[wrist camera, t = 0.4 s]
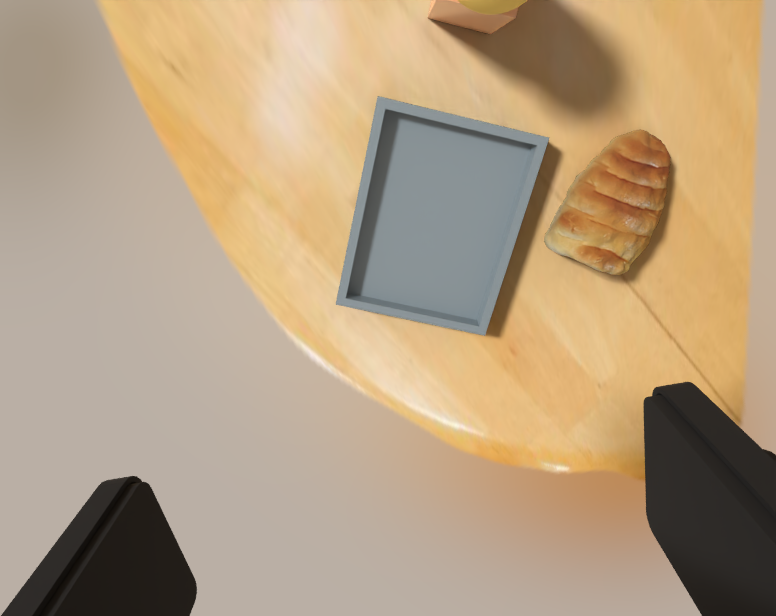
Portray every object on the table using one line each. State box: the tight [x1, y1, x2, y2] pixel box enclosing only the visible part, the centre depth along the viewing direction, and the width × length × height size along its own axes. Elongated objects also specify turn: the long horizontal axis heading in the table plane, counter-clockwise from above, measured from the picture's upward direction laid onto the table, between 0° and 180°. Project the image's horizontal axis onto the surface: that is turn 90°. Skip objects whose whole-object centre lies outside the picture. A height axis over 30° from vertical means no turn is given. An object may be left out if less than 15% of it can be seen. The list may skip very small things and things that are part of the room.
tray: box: [336, 96, 549, 336], centre depth 35 cm, size 14×11×2 cm
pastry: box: [544, 130, 670, 275], centre depth 34 cm, size 9×7×4 cm
